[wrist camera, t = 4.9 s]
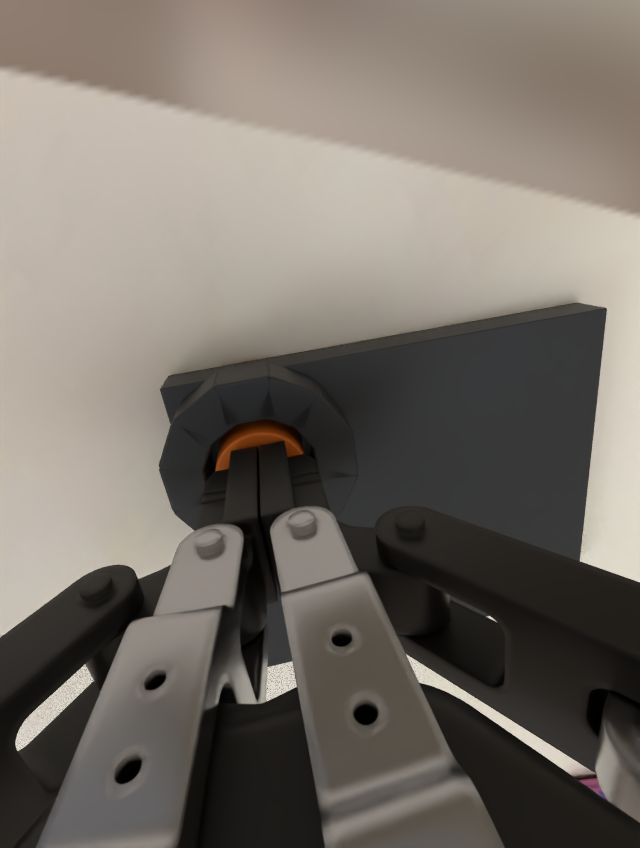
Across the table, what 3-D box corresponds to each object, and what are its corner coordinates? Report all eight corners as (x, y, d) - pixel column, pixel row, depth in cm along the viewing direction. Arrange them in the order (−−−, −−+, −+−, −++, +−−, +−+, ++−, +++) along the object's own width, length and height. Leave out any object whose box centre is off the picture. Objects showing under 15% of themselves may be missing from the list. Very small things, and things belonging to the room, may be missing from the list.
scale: (240, 644, 19) (238, 712, 16) (157, 369, 14) (134, 400, 11) (555, 573, 20) (604, 626, 17) (578, 294, 15) (651, 306, 12)
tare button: (229, 495, 14) (226, 522, 13) (209, 421, 13) (204, 443, 12) (308, 479, 14) (314, 504, 13) (295, 405, 13) (300, 424, 12)
